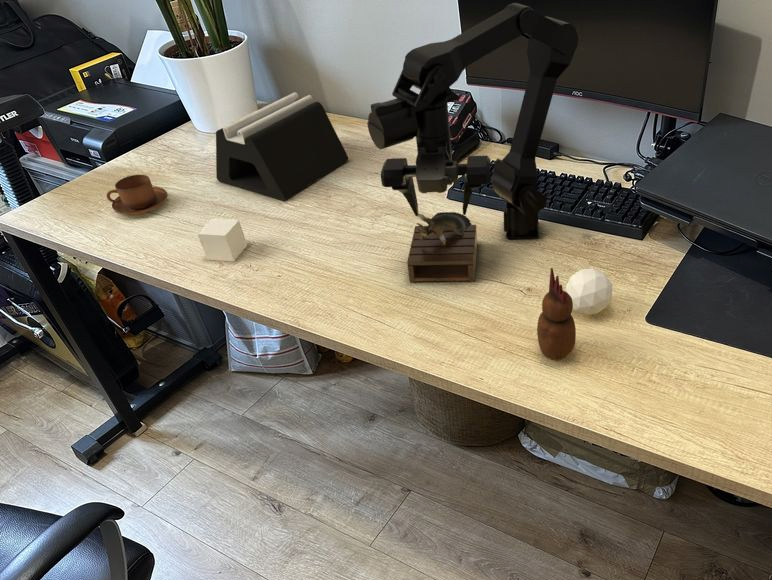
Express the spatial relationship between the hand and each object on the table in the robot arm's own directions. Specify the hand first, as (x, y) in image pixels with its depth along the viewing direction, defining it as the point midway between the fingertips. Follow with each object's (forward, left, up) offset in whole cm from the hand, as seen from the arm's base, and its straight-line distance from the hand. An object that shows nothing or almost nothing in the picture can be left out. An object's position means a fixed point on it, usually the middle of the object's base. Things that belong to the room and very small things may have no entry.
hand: (440, 214), depth 119 cm
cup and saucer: (+72, -25, -11) cm, 77 cm away
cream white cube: (+45, -5, -11) cm, 47 cm away
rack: (0, 0, -10) cm, 10 cm away
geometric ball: (-26, +15, -11) cm, 32 cm away
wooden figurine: (-20, +26, -11) cm, 34 cm away
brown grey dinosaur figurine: (+1, -1, -6) cm, 6 cm away
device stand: (+43, -41, -11) cm, 60 cm away
